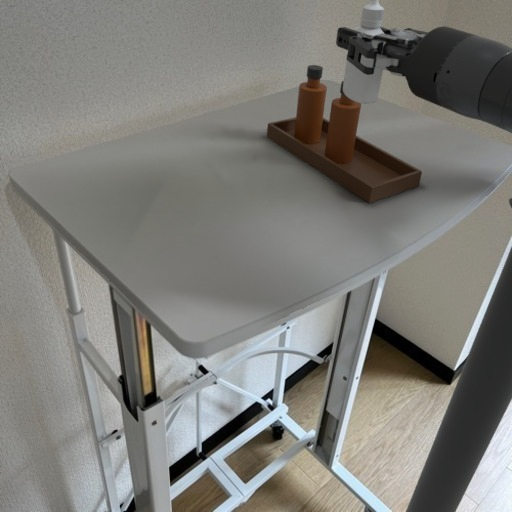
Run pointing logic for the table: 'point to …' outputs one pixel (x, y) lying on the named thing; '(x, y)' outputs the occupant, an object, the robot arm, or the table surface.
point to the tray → (350, 163)
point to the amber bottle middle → (342, 128)
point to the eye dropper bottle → (356, 81)
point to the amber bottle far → (310, 107)
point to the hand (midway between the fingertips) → (352, 34)
